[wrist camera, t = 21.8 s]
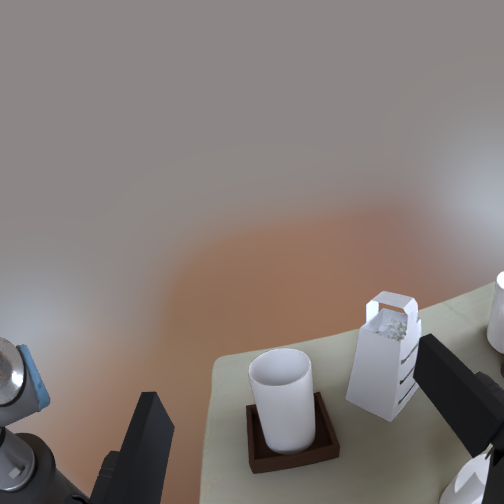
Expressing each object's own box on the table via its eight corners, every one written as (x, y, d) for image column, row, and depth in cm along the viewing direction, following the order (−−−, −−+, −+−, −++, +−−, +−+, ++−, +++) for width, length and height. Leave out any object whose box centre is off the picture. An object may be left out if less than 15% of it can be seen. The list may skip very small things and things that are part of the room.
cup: (315, 416, 41) (309, 345, 37) (316, 452, 33) (312, 384, 29) (268, 419, 42) (252, 350, 38) (262, 455, 35) (243, 388, 31)
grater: (376, 369, 49) (380, 280, 44) (419, 385, 41) (435, 291, 36) (344, 399, 44) (345, 305, 39) (390, 422, 35) (407, 324, 30)
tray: (338, 457, 32) (339, 446, 31) (253, 473, 32) (249, 464, 31) (320, 403, 44) (319, 391, 44) (249, 416, 44) (245, 405, 43)
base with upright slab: (455, 536, 10) (499, 504, 7) (428, 497, 19) (459, 456, 16) (502, 496, 11) (546, 451, 8) (474, 464, 20) (507, 414, 17)
